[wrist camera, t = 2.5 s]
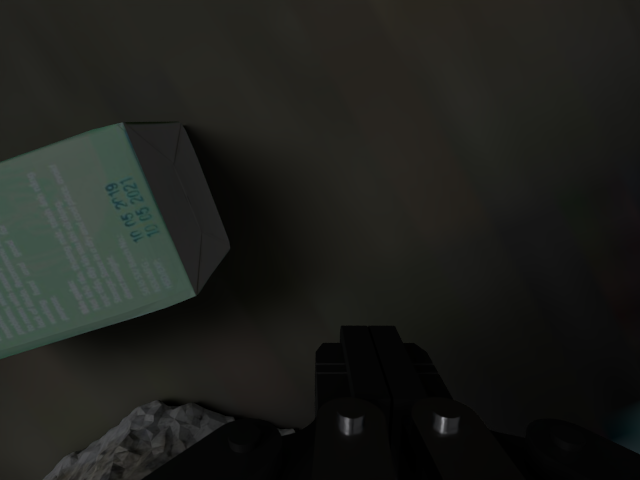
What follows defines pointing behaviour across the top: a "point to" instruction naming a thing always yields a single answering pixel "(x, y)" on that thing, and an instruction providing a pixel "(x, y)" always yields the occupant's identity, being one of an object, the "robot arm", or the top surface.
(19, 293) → the box
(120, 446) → the petrified wood
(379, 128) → the top surface
